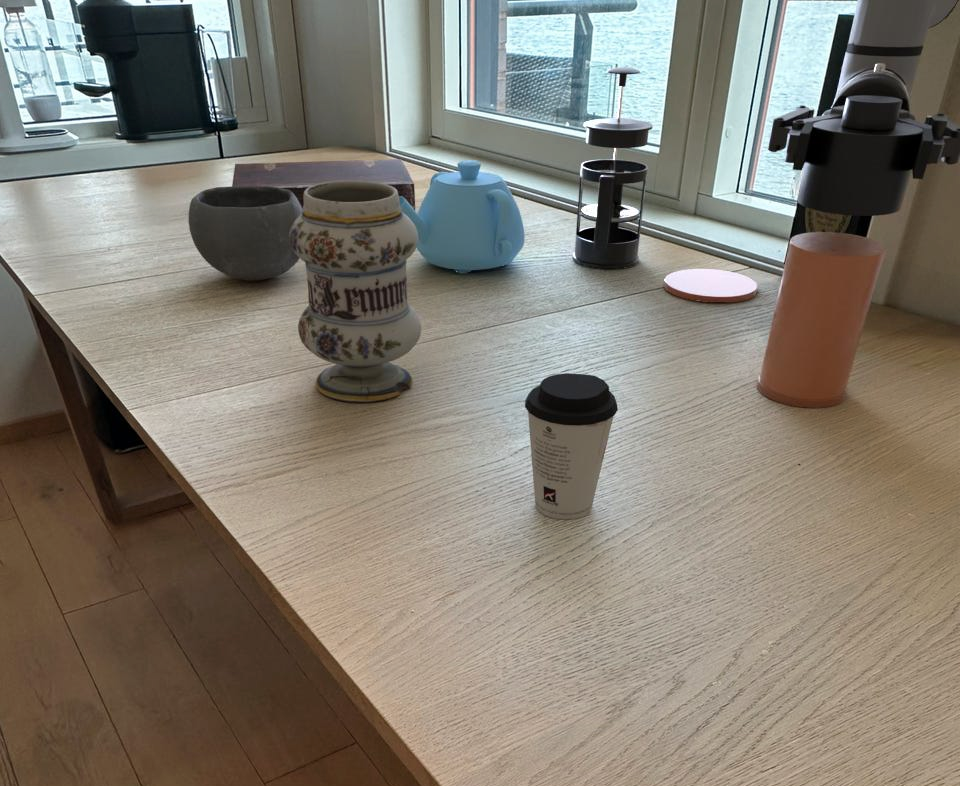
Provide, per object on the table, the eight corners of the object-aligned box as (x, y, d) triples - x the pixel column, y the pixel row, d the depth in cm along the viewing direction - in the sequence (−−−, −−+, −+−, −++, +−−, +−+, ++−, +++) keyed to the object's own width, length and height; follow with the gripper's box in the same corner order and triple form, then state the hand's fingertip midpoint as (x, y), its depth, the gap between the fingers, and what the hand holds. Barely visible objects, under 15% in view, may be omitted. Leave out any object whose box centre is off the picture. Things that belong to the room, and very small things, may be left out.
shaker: (847, 380, 89) (888, 237, 80) (843, 413, 83) (887, 261, 74) (761, 368, 92) (792, 227, 83) (751, 400, 85) (784, 251, 77)
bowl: (302, 256, 123) (292, 178, 117) (320, 287, 112) (311, 203, 106) (195, 265, 119) (180, 185, 113) (203, 298, 108) (187, 212, 102)
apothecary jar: (393, 416, 82) (381, 210, 71) (283, 397, 85) (254, 197, 74) (441, 370, 91) (437, 181, 79) (339, 354, 94) (321, 171, 82)
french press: (580, 247, 128) (594, 62, 113) (643, 252, 126) (665, 64, 111) (564, 269, 119) (577, 72, 104) (631, 275, 117) (654, 75, 102)
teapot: (555, 270, 118) (561, 168, 110) (432, 296, 110) (428, 187, 102) (475, 238, 131) (475, 144, 123) (359, 259, 122) (351, 159, 114)
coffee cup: (544, 535, 66) (552, 412, 59) (506, 493, 71) (509, 375, 64) (622, 516, 68) (638, 396, 62) (580, 477, 73) (590, 362, 66)
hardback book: (236, 221, 138) (231, 187, 134) (240, 195, 152) (235, 163, 149) (415, 215, 142) (414, 181, 139) (402, 190, 156) (401, 159, 153)
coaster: (761, 280, 116) (762, 274, 115) (750, 308, 107) (751, 301, 106) (673, 270, 119) (674, 264, 118) (655, 296, 110) (656, 290, 110)
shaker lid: (900, 197, 78) (929, 94, 73) (901, 220, 72) (932, 109, 67) (801, 189, 81) (822, 89, 76) (792, 210, 74) (815, 102, 69)
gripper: (766, 67, 87) (736, 95, 71) (999, 77, 81) (1024, 110, 65) (751, 151, 92) (719, 195, 76) (970, 166, 86) (987, 217, 70)
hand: (860, 156), depth 70 cm, fingers closed on shaker lid, 9 cm apart
